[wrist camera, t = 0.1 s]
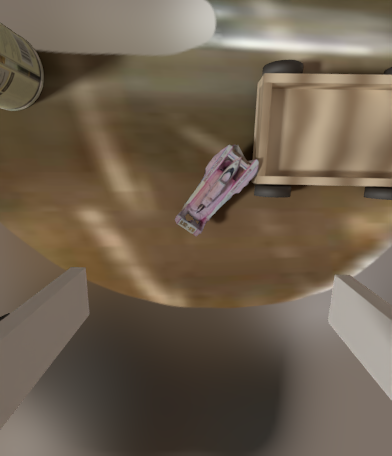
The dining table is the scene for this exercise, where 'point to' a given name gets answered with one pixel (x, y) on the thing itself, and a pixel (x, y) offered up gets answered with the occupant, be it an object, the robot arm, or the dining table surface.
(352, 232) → the dining table surface
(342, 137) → the cart
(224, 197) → the toy race car
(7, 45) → the coffee can
